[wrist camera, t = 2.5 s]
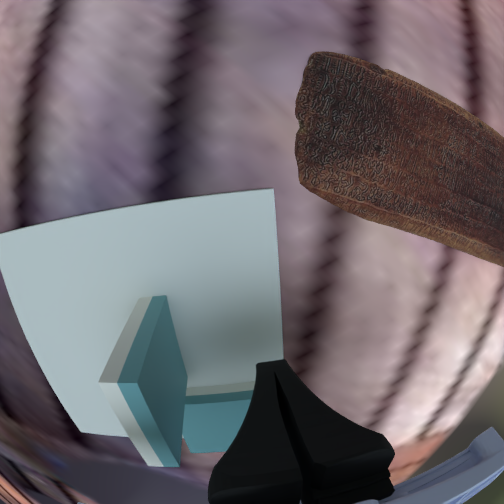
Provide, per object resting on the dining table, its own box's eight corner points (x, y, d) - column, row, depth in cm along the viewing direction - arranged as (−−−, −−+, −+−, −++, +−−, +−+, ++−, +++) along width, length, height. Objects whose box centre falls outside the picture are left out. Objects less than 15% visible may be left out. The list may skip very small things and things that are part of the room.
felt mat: (284, 424, 20) (285, 428, 20) (82, 428, 19) (81, 431, 19) (272, 188, 15) (273, 188, 14) (-5, 234, 13) (-8, 236, 13)
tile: (187, 376, 17) (179, 466, 11) (164, 378, 17) (148, 466, 11) (166, 295, 15) (137, 383, 9) (139, 297, 15) (98, 382, 9)
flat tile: (279, 429, 20) (282, 444, 18) (191, 437, 19) (190, 453, 18) (276, 378, 18) (280, 394, 16) (172, 388, 18) (169, 405, 16)
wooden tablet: (274, 199, 14) (325, 14, 10) (268, 189, 16) (312, 26, 12) (525, 278, 18) (557, 185, 15) (512, 268, 20) (542, 179, 17)
